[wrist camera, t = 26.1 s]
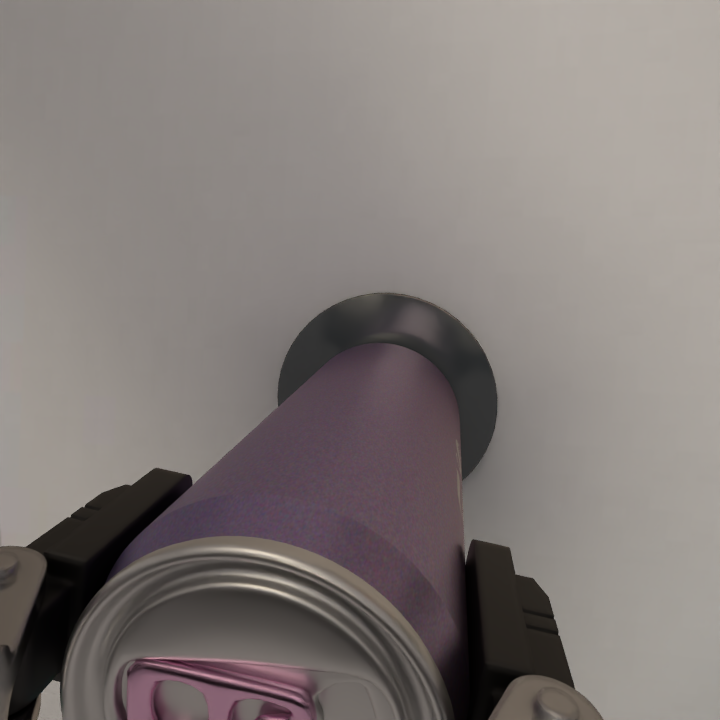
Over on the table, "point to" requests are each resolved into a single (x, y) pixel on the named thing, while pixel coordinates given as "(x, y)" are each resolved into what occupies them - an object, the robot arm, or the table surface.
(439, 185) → the table surface
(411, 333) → the slate coaster
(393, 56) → the table surface
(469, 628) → the robot arm
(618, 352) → the table surface
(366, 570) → the beverage can
